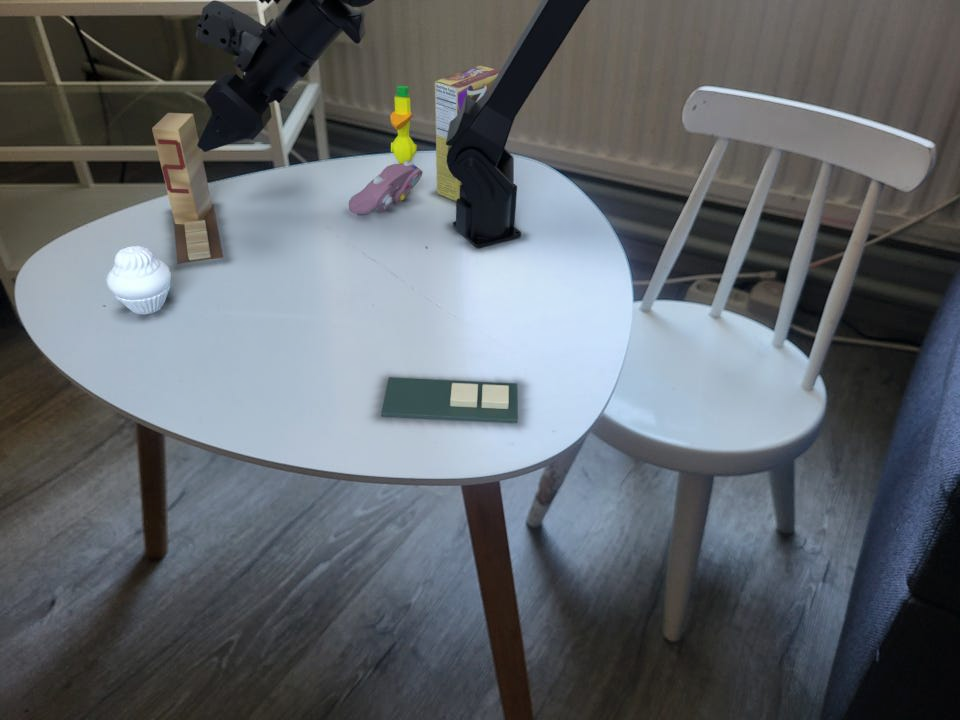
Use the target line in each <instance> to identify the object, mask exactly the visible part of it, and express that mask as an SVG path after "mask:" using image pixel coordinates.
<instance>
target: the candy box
mask: <svg viewBox="0 0 960 720" xmlns="http://www.w3.org/2000/svg"><path fill="white" fill-rule="evenodd" d="M499 72H500V70H498V69H495V68H491V67H487V66H484V65H477V66H475V67H472V68H469V69H467V70H464V71H459V72H457V73H454V74H452V75H449V76H445V77H443V78H441V79H437V80H435V81H434V107H435V108H434V109H435V111H434V112H435V113H434V114H435V115H434V117H435V119H434V120H435V160H436V194H438V195H439V196H441V197H444V198H446V199H448V200H451V201H454V202H456V200H457V199H458V198H460V185H462V183H461V181H459V180H457V179H456V178H455V177H454V176H453V175H452V174H451V172H450V171H449V169H448V165H447V162H446V160H447V153H448V147H449V145H446V140H447V135H448V130H449V124H450V121H452V120H453V119H454V118H456V116H457V115H458V114H459V112H460V110H461V107H462V105H463V102H464V99H465V97H466V96H469V97H470V98H471V99H472V100H473V101H475V102H477V101H478V100H479V99H480V98H481V97H482V96H483V95H485V94H486V93H487V91H488V90H489V89H490V87H491V86H492V84H493V82H494V81H495V79H496V77H497V75H498V74H499Z"/></svg>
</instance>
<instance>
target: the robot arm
mask: <svg viewBox="0 0 960 720" xmlns="http://www.w3.org/2000/svg"><path fill="white" fill-rule="evenodd" d="M258 1H259V2H260V3H261V4H264V3H265V2H266V4H267V5H269V4H270V3H271V2H272V0H258ZM281 1H282V0H273V2H274V3H275V4H276V5H279V3H281ZM374 1H375V0H290V1H288V3H287V4H286V5H285V7H284V8H283V9H282V10H281V11H280V12H279V14H277V16H276V17H275V18H271V19H269V21H268V22H267V23H266V24H265V25H264V24H263V23H261V22H260V21H257V20H256V19H255V18H253V17H251V16H250V15H248V14H245V12H242V11H240V10H238V9H236V8H234V7H232V6H230V5H229V4H226V3H225V2H222V1H219V0H210V2H209V3H207V4H206V5H205V6H203V7H202V10H201V13H200V14H201V15H200V18H199V19H198V20H197V21H195V23H194V25H195V28H196V29H197V30H196V32H195V38H196V39H197V40H198V41H199V42H201V43H202V44H205V45H210V46H212V47H214V48H216V49H218V50H220V51H223V52H225V53H227V54H229V55H231V56H235V57H236V58H235V60H233V61H232V64H233V65H234V66H235V67H236V68H237V69H238V70H240V71H241V72H242V78H241V77H240V76H239V75H238V74H237V73H228V72H227V73H226V72H223V74H221V75H220V77H218V78H217V80H216V81H215V82H213V84H212V85H210V87H209V88H208V89H207V91H206V92H205V93H204V94H203V95H202V96H203V99H204V101H205V103H206V106H208V107H209V109H210V112H211V113H210V116H209V118H208V120H207V122H206V124H205V127H204V129H203V131H202V134H201V135H200V138H199V142H198V144H197V146H198V147H199V148H200V149H201V152H204V153H207V152H209V151H212V150H216V149H219V148H222V147H225V146H228V145H231V144H234V143H238V142H241V141H245V140H248V141H249V140H251V141H254V140H255V138H257V136H258V135H259V134H260V133H261V132H262V131H263V130H264V129H265V127H266V126H267V124H268V123H269V122H270V120H271V119H272V109H271V104H272V103H273V102H277V103H278V104H280V103H281V102H282V101H283V100H284V99H285V98H286V96H287V95H288V94H289V92H290V91H291V89H292V88H293V87H295V85H296V84H297V83H298V82H299V81H300V80H301V78H304V77H305V76H306V75H307V74H308V73H309V72H310V70H311V68H312V67H313V66H314V64H316V62H318V60H319V59H320V58H321V57H322V56H323V55H324V53H326V51H327V50H328V49H329V48H330V47H331V46H332V45H333V44H334V42H335V41H336V40H338V38H339V37H340V36H341V35H342V34H343V33H344V34H345V35H346V36H347V37H348V38H349V39H350V41H352V42H353V43H354V44H355V45H358V44H360V43H361V41H362V40H363V38H364V37H365V34H366V29H365V28H366V27H365V16H366V12H365V11H364V10H355V9H352V8H361V7H365V6H368V5H370V4H371V3H373V2H374ZM590 1H591V0H541V2H540V3H539V5H538V7H537V8H536V10H535V12H534V13H533V15H532V16H531V19H530V21H529V22H528V24H527V25H526V27H525V28H524V30H523V33H521V35H520V37H519V38H518V40H517V42H516V43H515V46H514V47H513V48H512V50H511V52H510V54H509V55H508V57H507V59H506V60H505V62H504V63H503V66H502V67H501V68H500V70H499V71H500V72H499V74H498V75H497V77H496V79H495V81H494V82H493V84H492V86H491V87H490V89H489V90H488V91H487V93H486V94H485V95H483V96H482V97H481V98H480V99H479V100H478V101H477V102H475V101H473V100H472V99H471V98H470V97H469V96H466V97H465V99H464V102H463V105H462V107H461V110H460V112H459V114H458V115H457V116H456V118H454V119H453V120H452V121H450V124H449V130H448V135H447V140H446V145H449V147H448V153H447V160H446V162H447V165H448V169H449V171H450V172H451V174H452V175H453V176H454V177H455V178H456V179H457V180H459V181H461V183H462V185H460V198H458V199H457V200H456V201H455V221H453V222H452V228H454V230H455V231H457V232H458V233H459V234H460V235H462V236H463V237H464V238H465V239H466V240H467V241H468V242H469V243H470V244H471V245H472V246H474V247H475V248H478V249H481V248H483V247H484V248H485V247H488V246H491V245H495V244H499V243H503V242H507V241H511V240H514V239H519V238H521V237H522V232H521V231H520V230H519V229H518V228H517V227H516V226H515V224H516V223H515V222H516V210H517V195H518V185H517V184H516V183H515V182H514V181H515V180H514V179H515V177H514V176H515V173H514V172H515V171H514V170H515V168H514V167H515V164H514V163H515V162H514V161H515V159H514V158H515V157H514V155H512V154H511V153H510V152H509V151H508V149H506V145H507V142H508V139H509V136H510V132H511V130H512V127H513V123H514V122H515V119H516V117H517V115H518V114H519V112H520V111H521V109H522V107H523V106H524V104H525V102H526V101H527V99H528V98H529V96H530V94H531V93H532V91H533V90H534V88H535V87H536V85H537V83H538V82H539V81H540V79H541V77H542V75H543V74H544V73H545V71H546V69H547V68H548V66H549V64H550V63H551V61H552V60H553V58H554V56H555V55H556V54H557V52H558V50H559V49H560V47H561V46H562V44H563V42H564V41H565V39H566V38H567V36H568V34H569V33H570V31H571V30H572V28H573V26H574V25H575V23H576V22H577V20H578V18H579V17H580V16H581V14H582V12H583V11H584V9H585V8H586V6H587V4H588V3H589V2H590Z"/></svg>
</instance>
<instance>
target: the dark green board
mask: <svg viewBox="0 0 960 720" xmlns="http://www.w3.org/2000/svg"><path fill="white" fill-rule="evenodd" d="M381 417H386V418H387V417H389V418H393V417H394V418H408V419H409V418H410V419H428V420H429V419H430V420H451V421H468V422H469V421H470V422H491V423H493V422H494V423H509V424H510V423H511V424H512V423H513V424H517V423H518V383H516V382H515V383H514V382H513V383H512V382H493V381H492V382H491V381H472V380H454V379H453V380H452V379H451V380H450V379H433V378H431V379H429V378H413V377H412V378H411V377H391V376H390V377H389V376H388V379H387V383H386V389H385V393H384V399H383V403H382V407H381Z"/></svg>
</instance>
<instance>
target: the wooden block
mask: <svg viewBox="0 0 960 720" xmlns="http://www.w3.org/2000/svg"><path fill="white" fill-rule="evenodd" d="M151 130H152V135H153V139H154V143H155V147H156V151H157V155H158V160H159V163H160V168H161V172H162V176H163V180H164V183H165V187H166V192H167V196H168V200H169V204H170V208H171V212H172V218H173V217H174V221H175V224H184V223H186V222H194V221H202V220H203V219H204V218H205V216H206V215H207V214H208V212H209V211H210V209H211V208H212V204H213V203H212V198H211V193H210V188H209V183H208V177H207V173H206V168H205V164H204V160H203V159H204V158H203V154H202V150H201V149H200V148H199V147H198V146H197V144H198V142H199V140H200V138H199V135H198V130H197V125H196V121H195V115H194V113H183V112H182V113H181V112H167V113H166V114H165V115H164V116H163V117H161V119H160V120H159V121H158V122H157V123H155V125H154V126H153V127H152V128H151Z"/></svg>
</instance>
